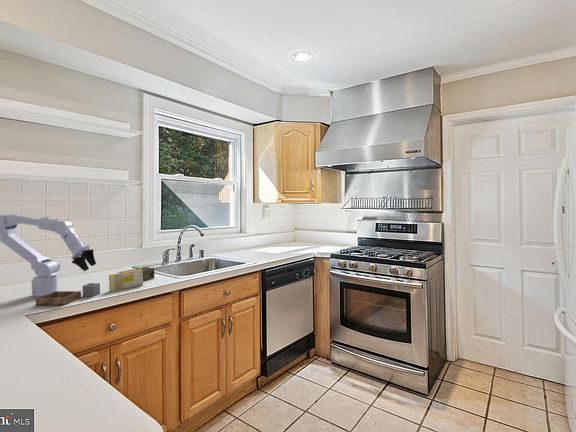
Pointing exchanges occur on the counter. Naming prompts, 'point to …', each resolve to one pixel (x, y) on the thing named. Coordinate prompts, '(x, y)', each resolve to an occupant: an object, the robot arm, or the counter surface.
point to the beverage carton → (145, 272)
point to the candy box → (125, 280)
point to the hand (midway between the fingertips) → (90, 267)
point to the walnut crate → (58, 298)
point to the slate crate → (91, 289)
